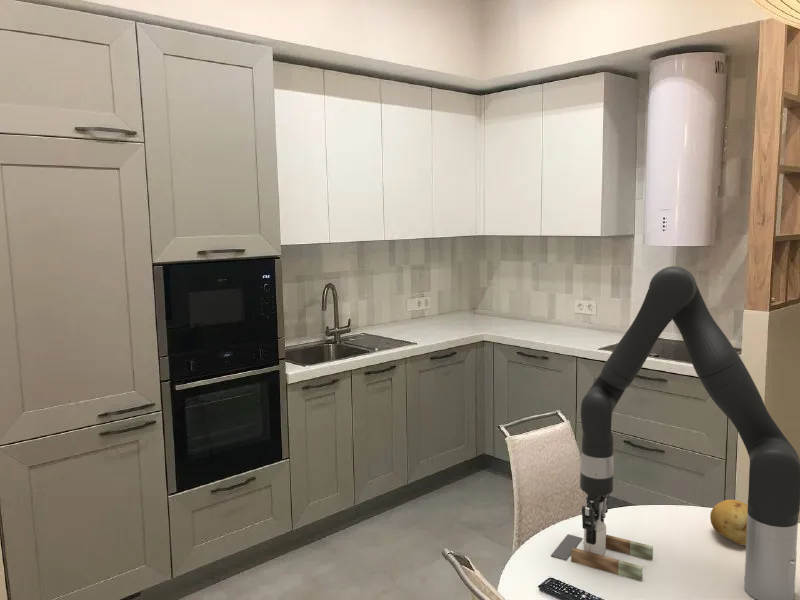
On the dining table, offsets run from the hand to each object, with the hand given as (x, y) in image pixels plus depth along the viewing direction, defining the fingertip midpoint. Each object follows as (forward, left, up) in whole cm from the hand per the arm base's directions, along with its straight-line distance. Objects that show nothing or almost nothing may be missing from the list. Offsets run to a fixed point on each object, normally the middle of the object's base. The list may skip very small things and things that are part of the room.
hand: (594, 537), depth 151 cm
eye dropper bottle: (0, 0, -5) cm, 5 cm away
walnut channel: (-4, 0, -5) cm, 6 cm away
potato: (-27, -25, -5) cm, 37 cm away
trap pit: (+7, 0, -5) cm, 8 cm away
